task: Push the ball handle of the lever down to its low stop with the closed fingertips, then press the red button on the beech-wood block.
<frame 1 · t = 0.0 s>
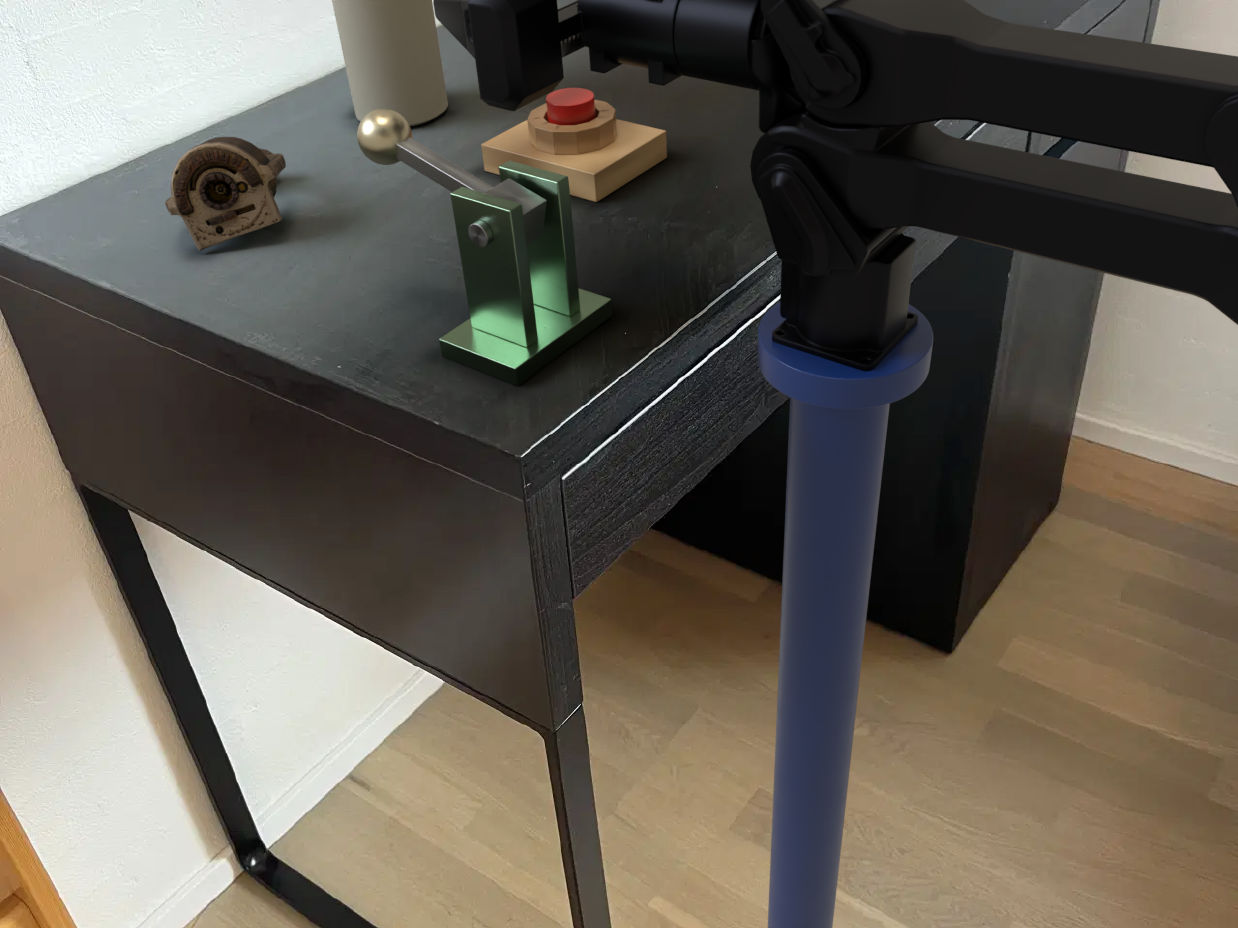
button: (570, 108, 85), point 4 cm above the table, slide at 0.1 cm
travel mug: (403, 115, 99), on the table
bracket: (528, 335, 69), on the table
mechanical counter: (249, 216, 85), on the table
lever: (446, 174, 66), point 9 cm above the table, hinge at 15.0°
button block: (575, 164, 88), on the table
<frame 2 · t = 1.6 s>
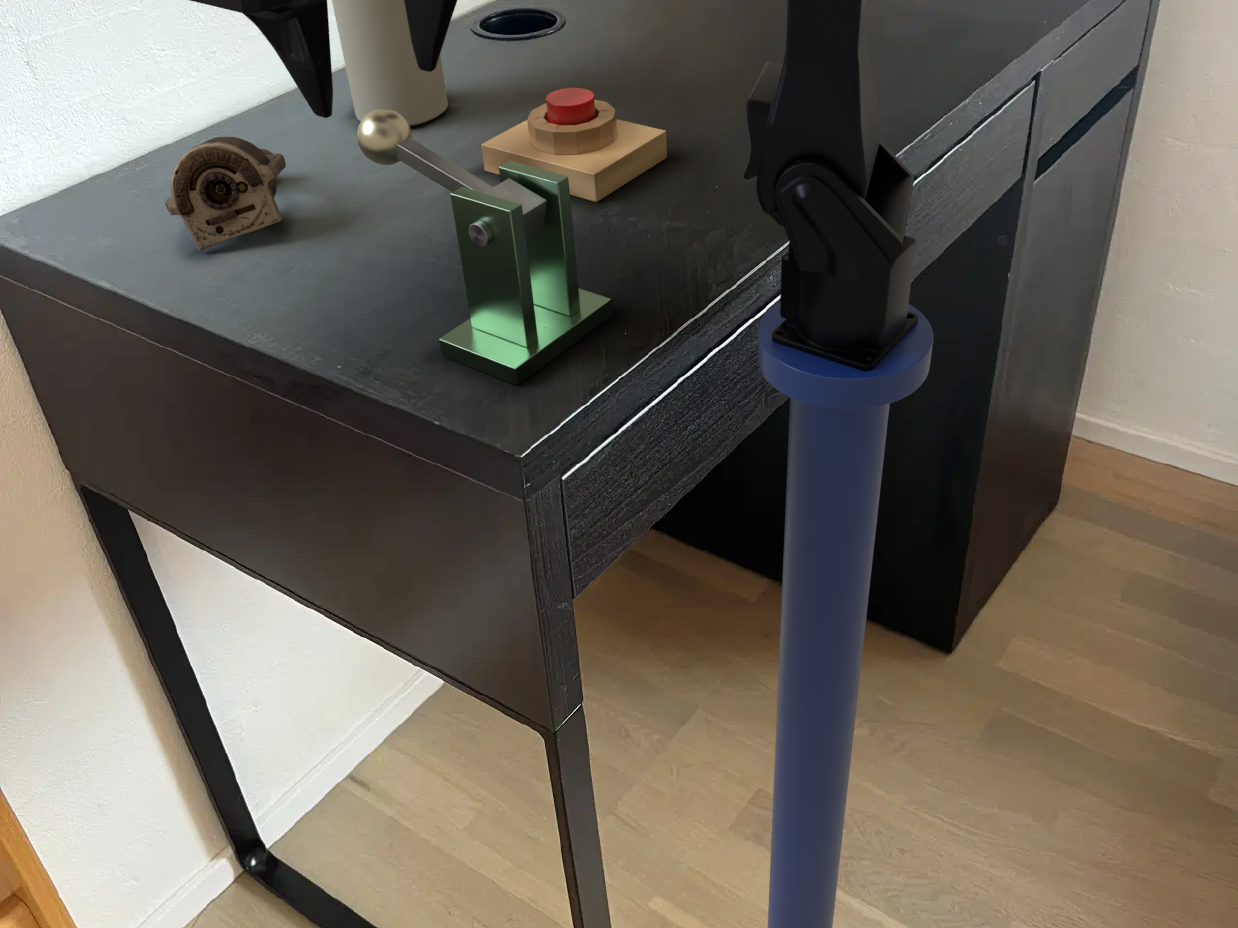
hand: (377, 92, 66), 13 cm above the table, tool pointing down, fingers open, 8 cm apart
nothing on the table moved.
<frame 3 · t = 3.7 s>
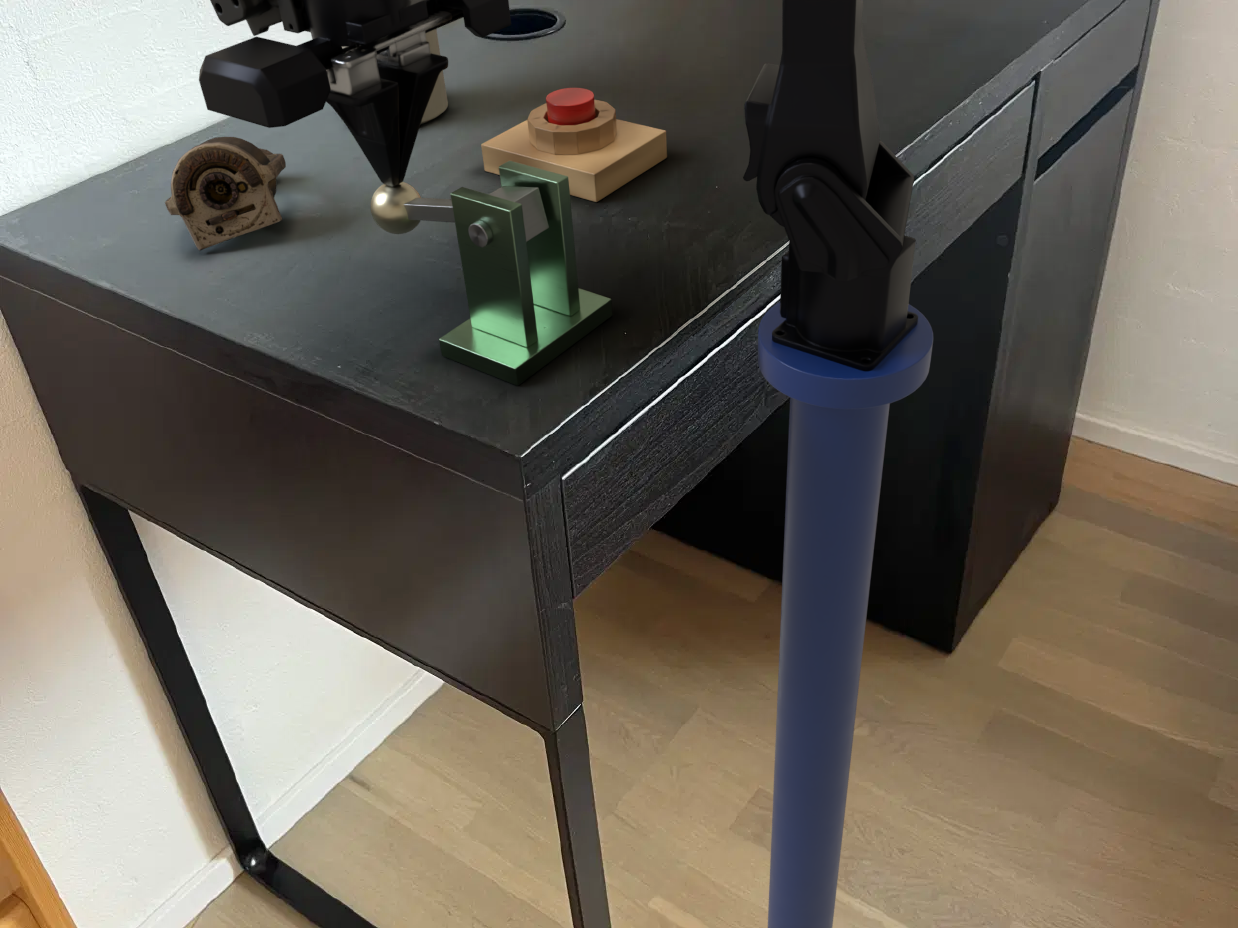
hand: (392, 183, 69), 8 cm above the table, tool pointing down, fingers closed
lever: (451, 210, 67), point 7 cm above the table, hinge at -11.4°, touching gripper
everything else where it was.
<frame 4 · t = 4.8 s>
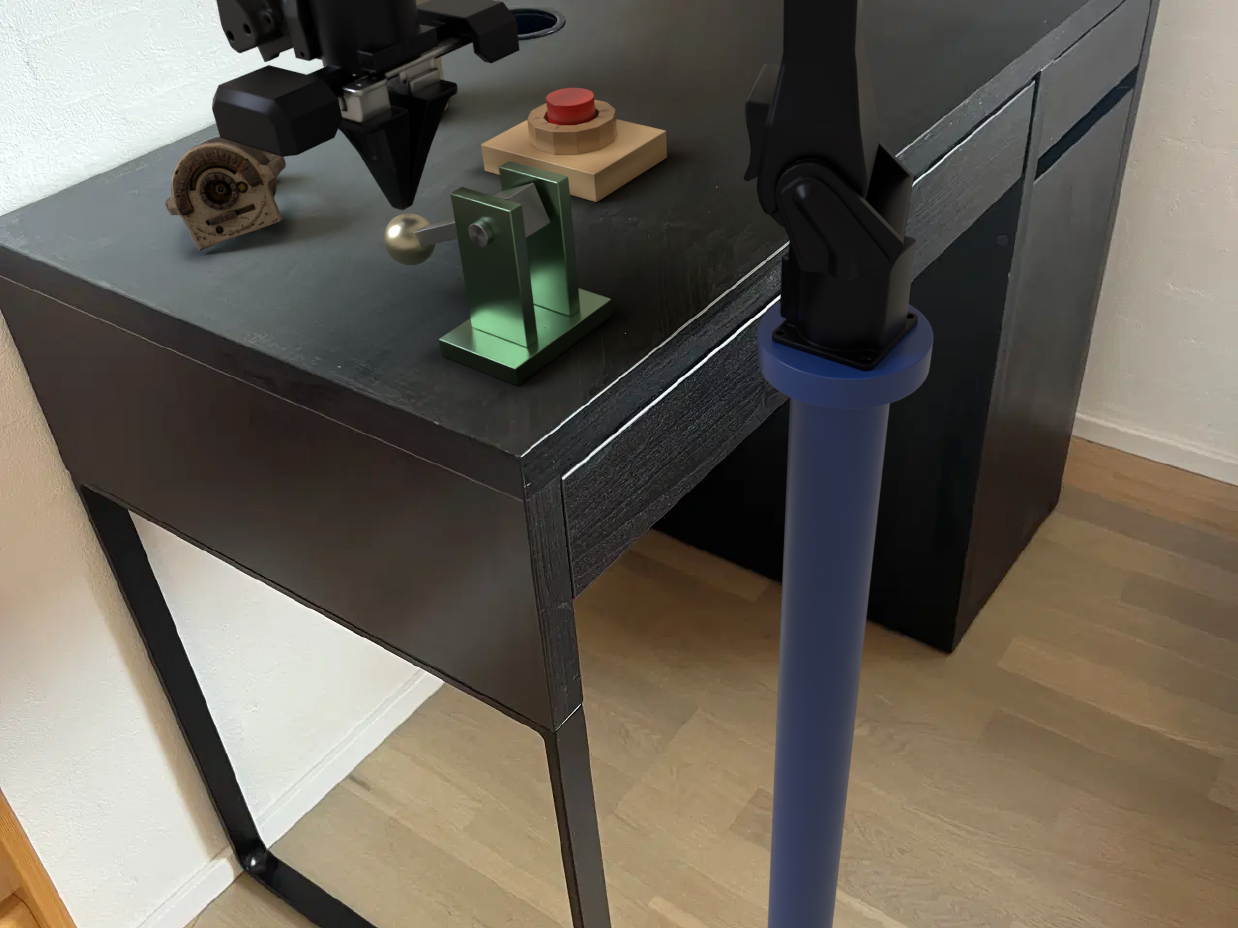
hand: (402, 207, 70), 6 cm above the table, tool pointing down, fingers closed
lever: (457, 227, 68), point 6 cm above the table, hinge at -23.4°
everything else where it was.
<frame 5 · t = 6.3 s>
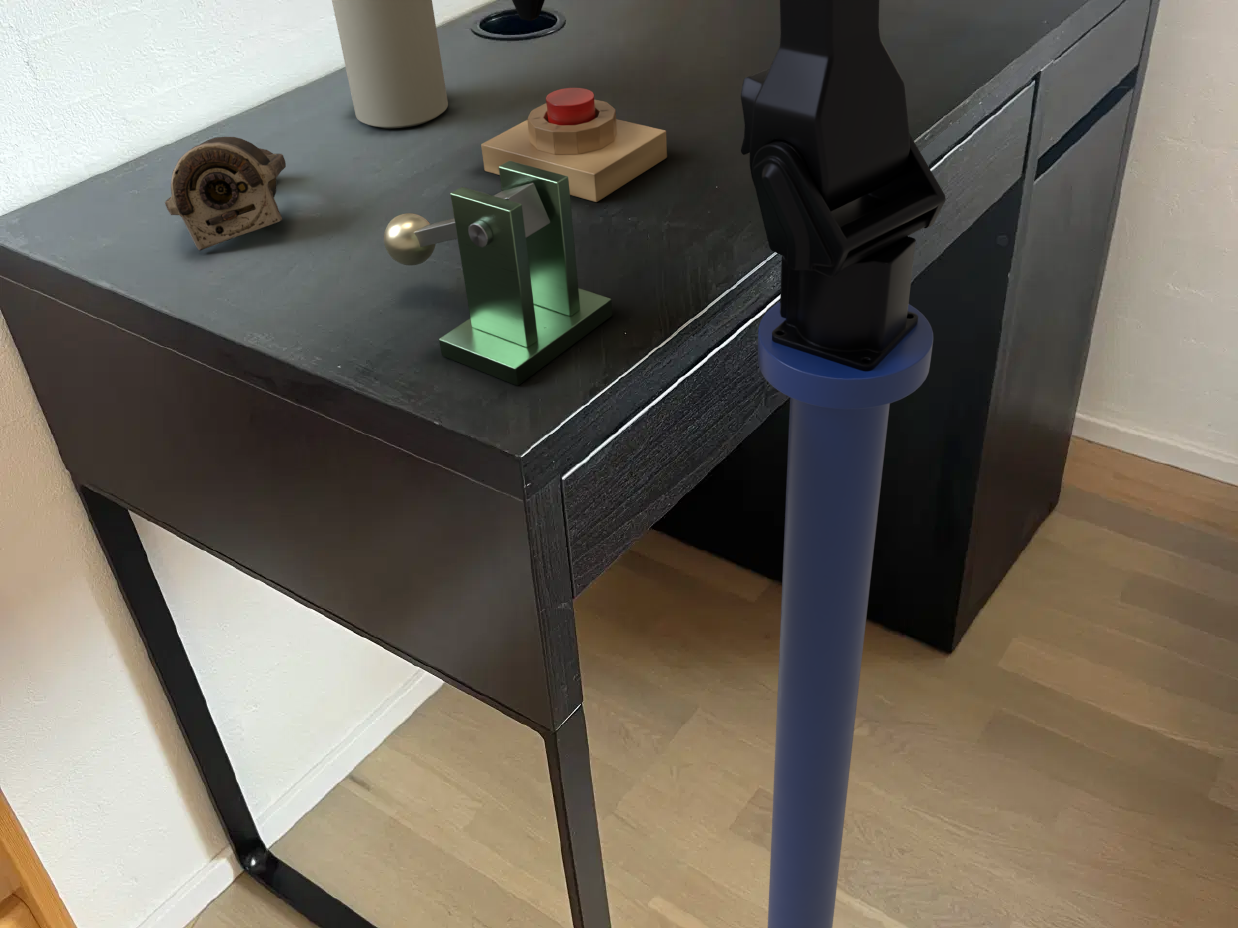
hand: (529, 18, 78), 12 cm above the table, tool pointing down, fingers closed
nothing on the table moved.
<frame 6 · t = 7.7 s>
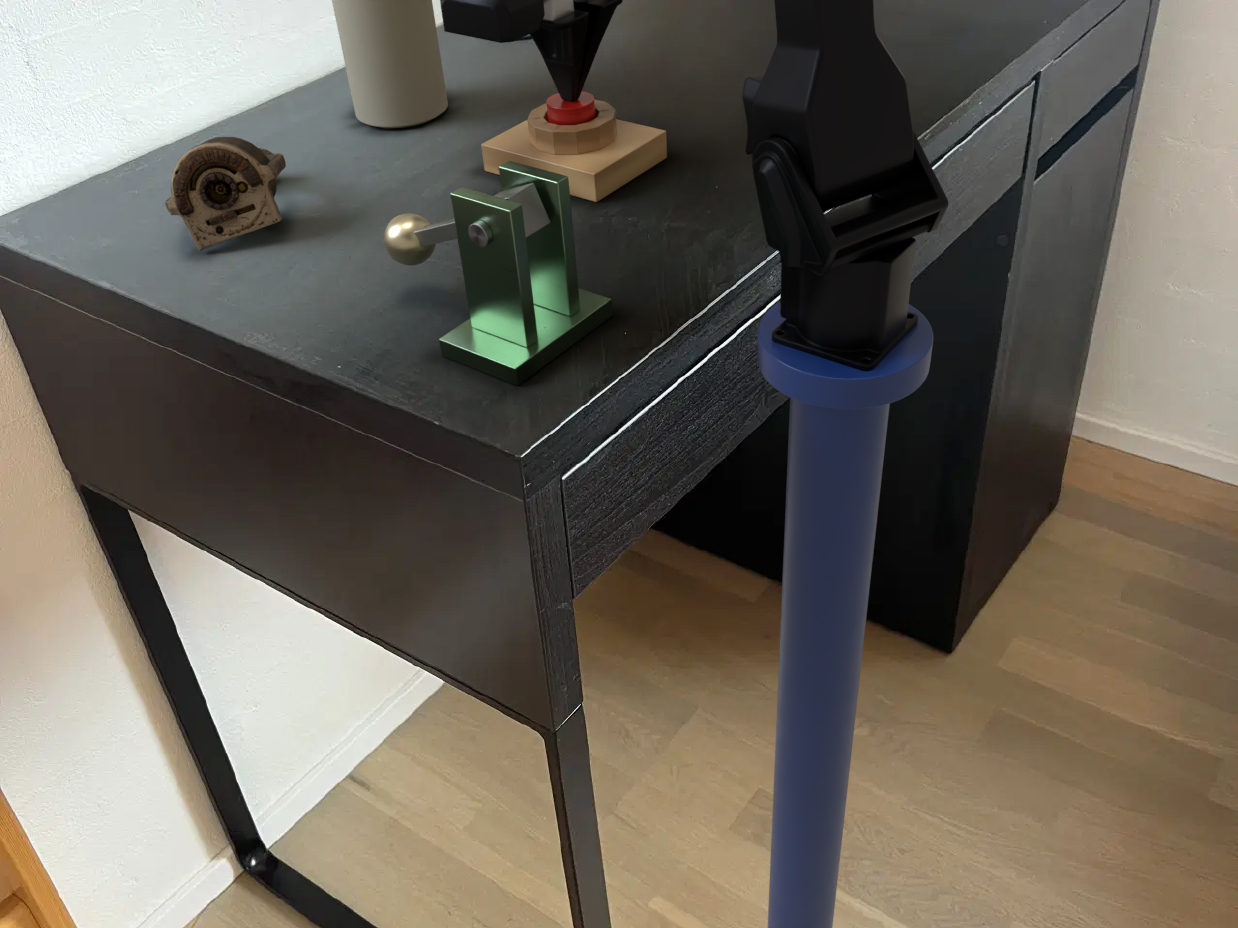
hand: (570, 99, 85), 5 cm above the table, tool pointing down, fingers closed, pressing on button
button: (571, 111, 86), point 4 cm above the table, slide at -0.1 cm, touching gripper
everything else where it was.
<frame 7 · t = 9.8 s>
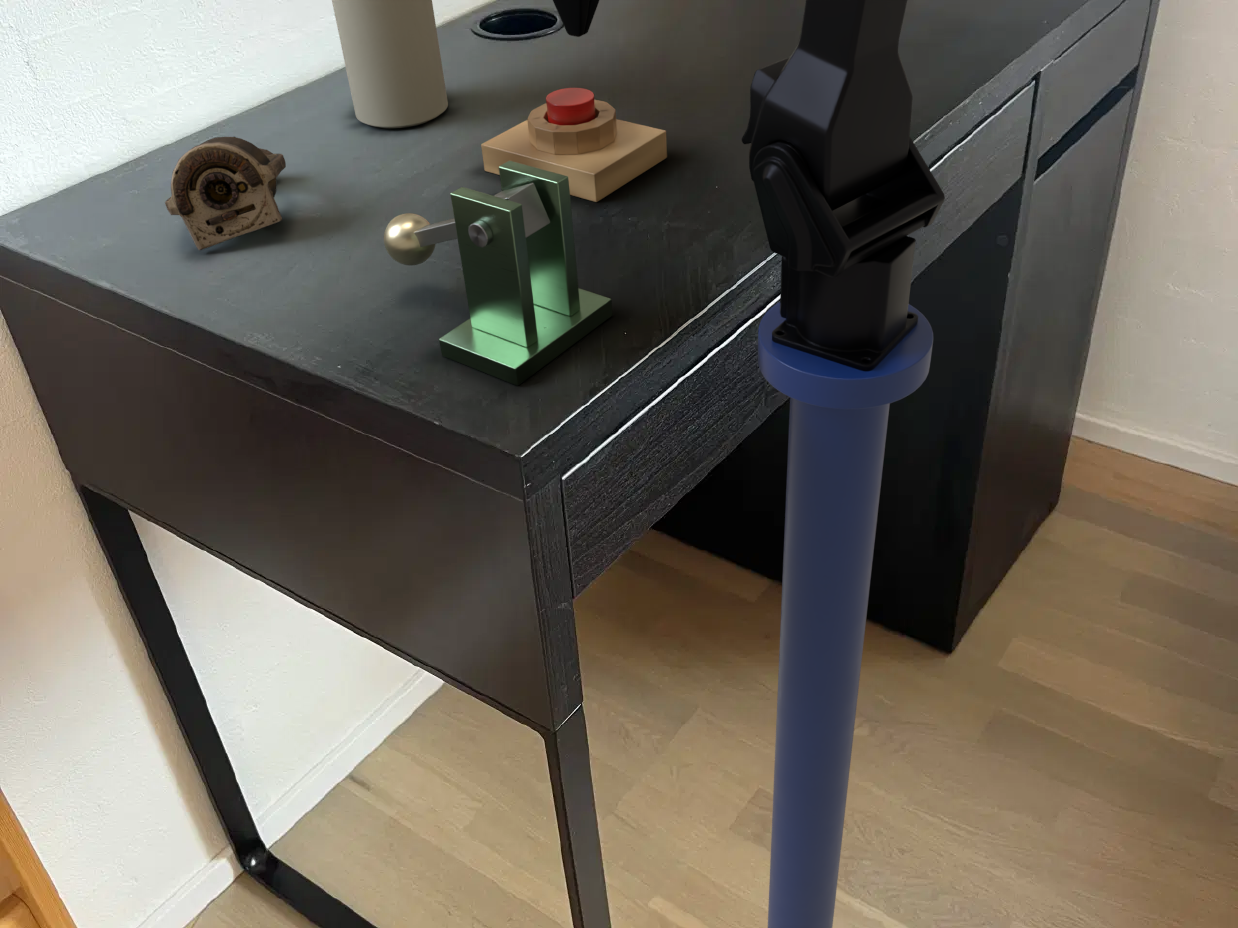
hand: (577, 34, 74), 13 cm above the table, tool pointing down, fingers closed
button: (570, 108, 85), point 4 cm above the table, slide at 0.1 cm
everything else where it was.
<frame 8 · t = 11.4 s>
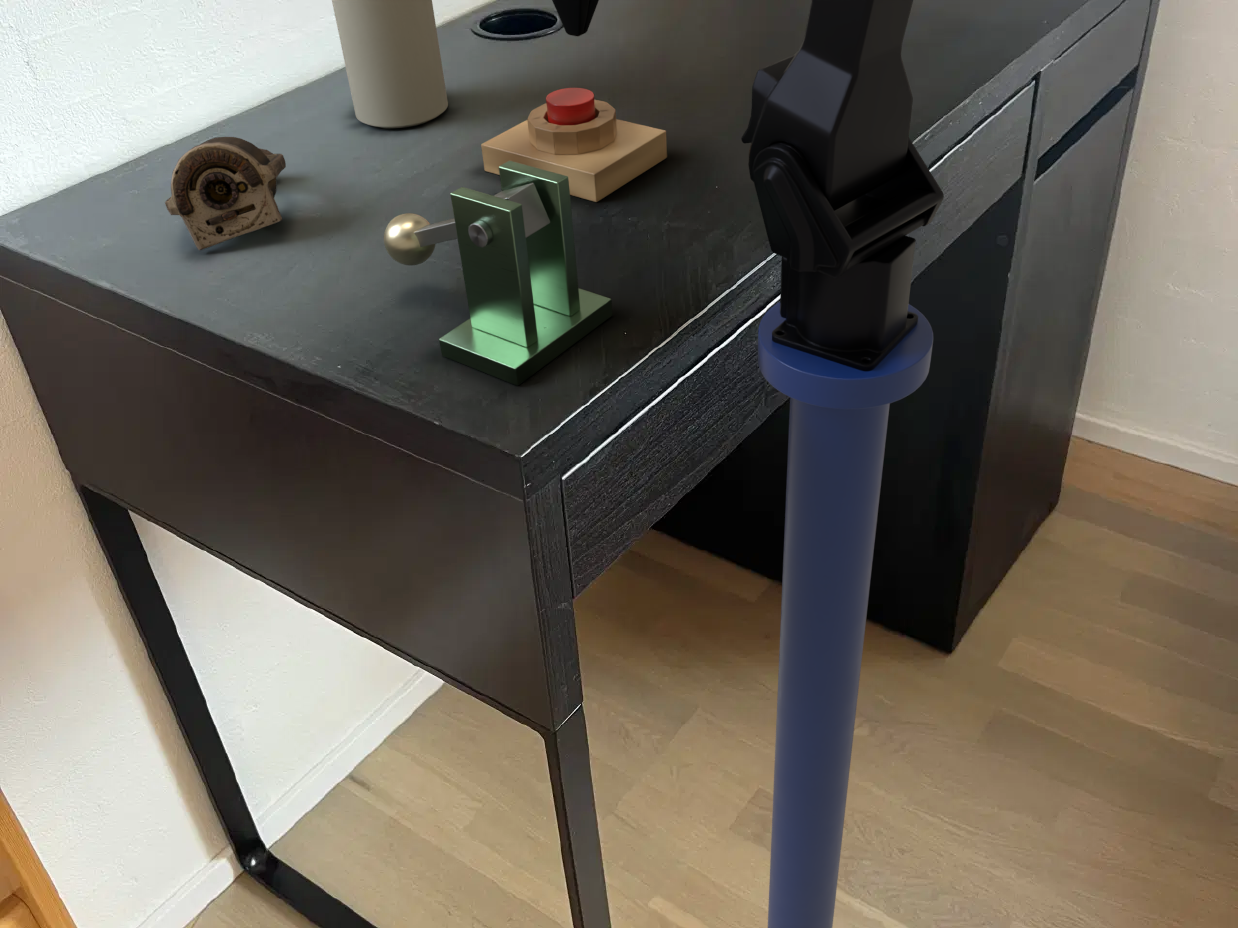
hand: (576, 34, 73), 13 cm above the table, tool pointing down, fingers closed
nothing on the table moved.
at the end: lever at -23° (first picture: +15°); button pushed in 1.1 cm at the most during the clip, back to where it started at the end; button slide at 0.1 cm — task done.
